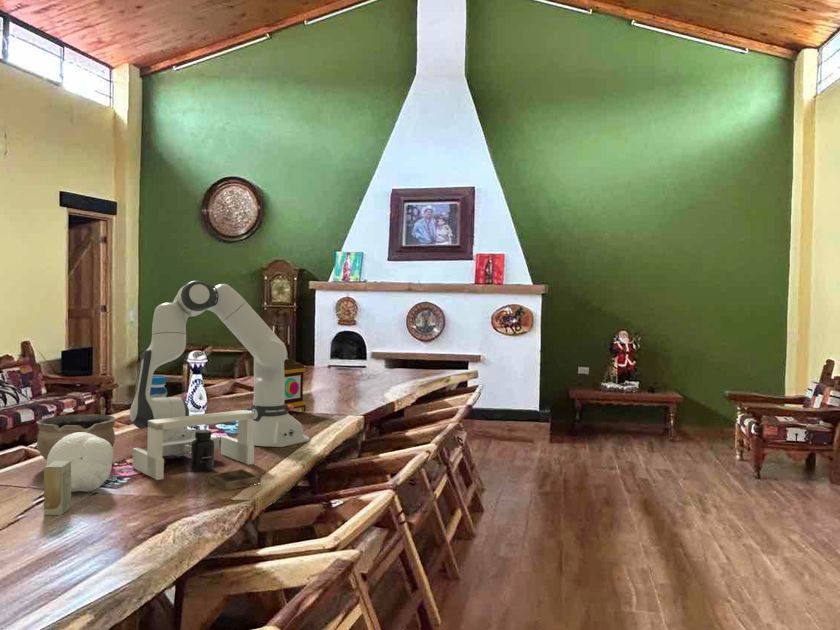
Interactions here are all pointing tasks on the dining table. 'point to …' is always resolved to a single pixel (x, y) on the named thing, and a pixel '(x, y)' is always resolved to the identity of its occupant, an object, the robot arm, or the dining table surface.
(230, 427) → the dining table surface
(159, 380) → the beverage bottle
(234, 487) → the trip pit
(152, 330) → the robot arm
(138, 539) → the dining table surface
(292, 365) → the decorative lantern
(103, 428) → the ceramic bowl
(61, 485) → the skincare box
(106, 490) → the dining table surface
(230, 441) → the arch lane
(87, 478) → the decorative orb
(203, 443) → the supplement bottle
